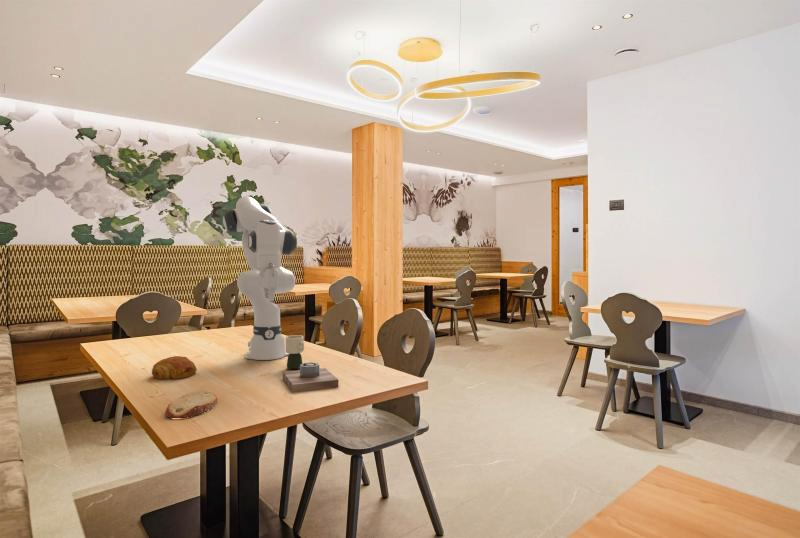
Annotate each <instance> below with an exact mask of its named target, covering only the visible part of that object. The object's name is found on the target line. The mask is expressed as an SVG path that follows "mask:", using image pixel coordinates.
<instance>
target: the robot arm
mask: <svg viewBox="0 0 800 538" xmlns="http://www.w3.org/2000/svg"><path fill="white" fill-rule="evenodd" d="M235 203H236V204H235V208H233V209H232V208H230V209H229V210H227V211H225V212H224V214H223V216H222V224H223V226H224V228H225V229H226V230H227V232H228V233H229V234H230V233H232V234H236V233H239V232H240V233H241V232H243V233H242V235H241V244H242V245H241V246H242V251H243V253H244V256H245V259H246V263H247V265H248V267H249V268H250V269H251V270H246V271H242V272H241V273H239V275H238V277H237V280H236V282H237V283H236V285H237V286H236V287H237V288H238V290H239V292H240V293H241V294H243V295H245V296H246V298H247V299H248V300H249V301H250V303H251V306H252V308H253V309H252V310H253V317H254V318H253V319H254V323H253V327H252V333H253V335H252V337H251V339H250V340H249V341H247V347H249V348H248V350H247V352H246V354H245V358H244V359H246V360H256V361H257V360H258V361H269V360H278V359H282V358H284V357H286V356H287V357H288V355H289V353H286V337H284V335H282V324H281V310H280V307H279V305H278V304H276V303H275V302H274V301H275V295H276V294H285V293H288V292H292V290H293V289H294V288H295V286H296V277H295V275H294V273H293V272H292V271H291V270H289V269H286V268H285V267H283V266H282V255H284V256H285V255H286V256H289V255H291V254H292V253H294V251H295V250H297V246H298V239H297V236H296V234H295V233H294V232H293V231H292V230H291V229H289V228H287V227H286V226H285V224H283V223H282V222H281V220H279V218H278V217H276V216H275V215H273V212H272V210H271V209H270V207H269V205H267V204H265V203H259V202H258V201H257V200H256V199H255V198H253V197H252V196H247V195H246V196H242V197H240V198H239V199H238V200H237V201H236V202H235Z"/></svg>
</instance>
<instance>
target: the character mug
mask: <svg viewBox="0 0 800 538" xmlns="http://www.w3.org/2000/svg"><path fill="white" fill-rule="evenodd" d="M304 339H305V337H304V335H301V334H299V335H298V334H293V335H292V334H291V335H287V336H285V351H286V353H289V355H287V360H286V368H287V369H289V370H293V369H296V370H299V369H300V364H303V357H302V353H304V350H305V341H304Z"/></svg>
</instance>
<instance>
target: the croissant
mask: <svg viewBox="0 0 800 538" xmlns="http://www.w3.org/2000/svg"><path fill="white" fill-rule="evenodd" d="M197 370H198V369H197V367H196V364H195V362H194V361H192V360H190V359H189V358H188V357H187V356H182V355H181V356H180V355H178V356H177V355H174V356H170V357H166V358H164V359H160V360H159V361H157V362H156V363H155V364H154V365H153V366H152V369H151V374H152V376H153V378H154V379H156V380H159V379H160V380H178V379H184V378H186V377H187V378H188V377H191V376H193V375H195V373H196V372H197Z"/></svg>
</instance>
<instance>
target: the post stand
mask: <svg viewBox="0 0 800 538" xmlns="http://www.w3.org/2000/svg"><path fill="white" fill-rule="evenodd" d="M306 366H314V364H306ZM282 380H283V381H284V382H285V383H286V385H287V386H288V388H289V389H290V391H291V392H292V393H296V392H303V391H313V390H314V391H315V390H321V389H323V390H324V389H329V388H338V387H339V379H338V377H336V376H335V375H334V374H332V372H331V371H329V369H327V368H326V367H319V376H317V377H314V378H303V377H301V376H300V369H296V370H288V371H282Z"/></svg>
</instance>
